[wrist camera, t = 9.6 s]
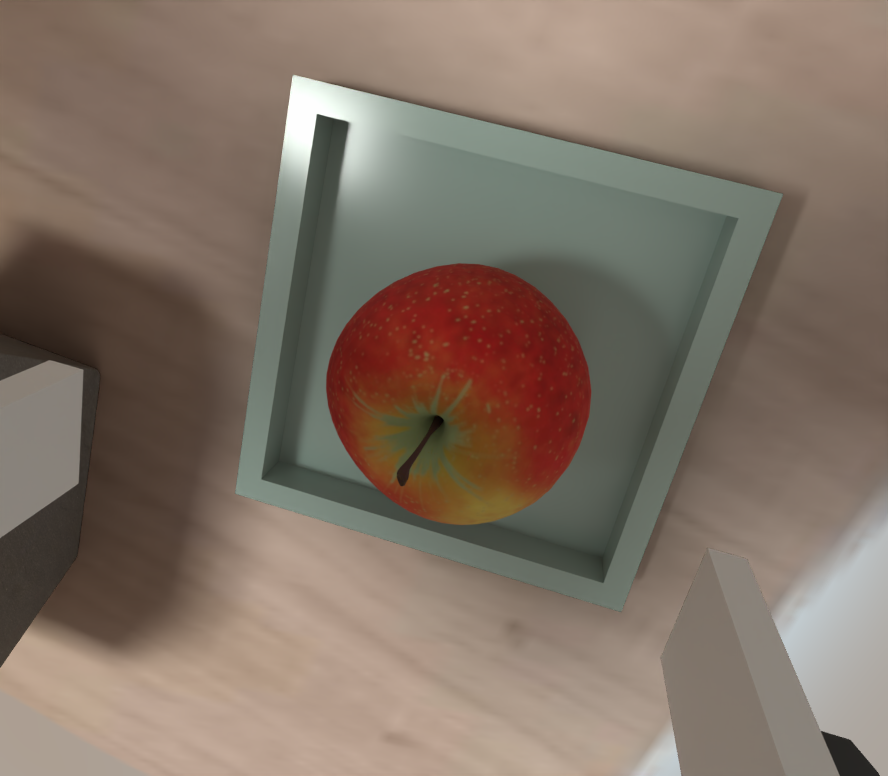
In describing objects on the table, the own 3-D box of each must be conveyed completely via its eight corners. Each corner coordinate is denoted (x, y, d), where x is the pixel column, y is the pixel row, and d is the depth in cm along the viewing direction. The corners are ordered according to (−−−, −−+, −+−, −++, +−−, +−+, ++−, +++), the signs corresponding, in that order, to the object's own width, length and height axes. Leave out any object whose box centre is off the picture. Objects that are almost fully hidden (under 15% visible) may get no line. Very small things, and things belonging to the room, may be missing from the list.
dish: (260, 468, 31) (234, 493, 29) (318, 81, 25) (292, 74, 23) (618, 576, 29) (621, 612, 27) (764, 190, 24) (783, 193, 22)
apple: (634, 367, 26) (662, 490, 17) (469, 486, 29) (414, 648, 19) (492, 196, 25) (438, 224, 16) (336, 336, 28) (210, 431, 18)
